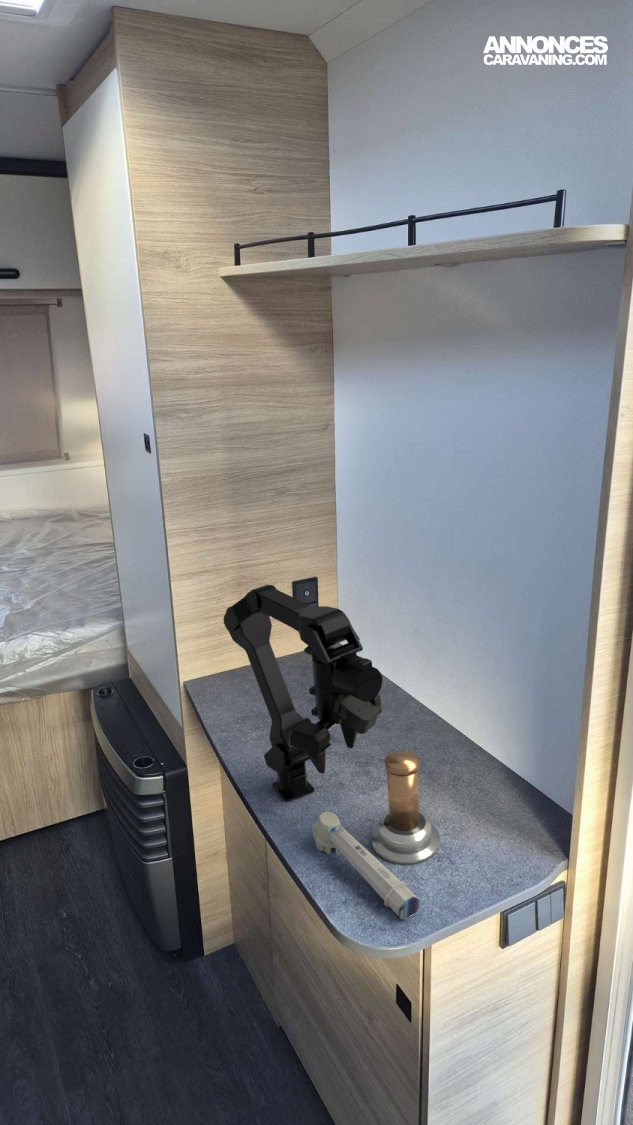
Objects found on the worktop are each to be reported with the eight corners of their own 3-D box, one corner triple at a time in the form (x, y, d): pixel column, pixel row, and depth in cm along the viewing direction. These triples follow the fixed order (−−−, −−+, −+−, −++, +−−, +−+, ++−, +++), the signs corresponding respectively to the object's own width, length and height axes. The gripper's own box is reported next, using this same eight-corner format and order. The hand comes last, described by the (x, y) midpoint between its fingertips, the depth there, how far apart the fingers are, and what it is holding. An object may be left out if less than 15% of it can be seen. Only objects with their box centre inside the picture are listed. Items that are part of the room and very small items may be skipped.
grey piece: (397, 907, 118) (306, 809, 137) (395, 938, 121) (306, 838, 140) (424, 891, 121) (331, 797, 140) (421, 922, 124) (330, 826, 143)
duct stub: (358, 834, 141) (357, 815, 140) (415, 812, 146) (414, 793, 145) (395, 873, 131) (394, 853, 129) (454, 848, 136) (453, 828, 134)
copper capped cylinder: (381, 818, 138) (378, 756, 134) (409, 807, 141) (407, 746, 137) (399, 836, 133) (396, 772, 129) (427, 824, 136) (426, 761, 132)
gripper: (339, 716, 124) (345, 800, 129) (398, 668, 138) (401, 746, 143) (283, 700, 130) (291, 781, 135) (345, 656, 145) (350, 731, 150)
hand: (336, 759), depth 141 cm, fingers open, 9 cm apart
